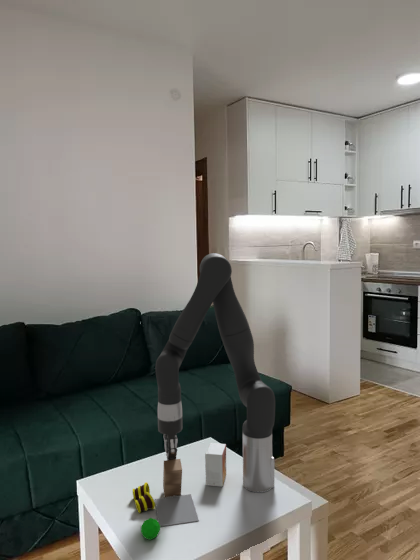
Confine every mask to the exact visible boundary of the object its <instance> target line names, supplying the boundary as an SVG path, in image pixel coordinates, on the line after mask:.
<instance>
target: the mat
mask: <svg viewBox="0 0 420 560" xmlns="http://www.w3.org/2000/svg"><path fill="white" fill-rule="evenodd" d="M193 500H194V499H193V496H192V494H190V493H189V494H183V495H182V494H181V495H179V496H171V497H161V498H160V497H159V498H154V502H155V511H156V516H157V521H158V523H159V524H160V528H161V527H169V526H177V525H184V524H189V523H195V522H199V521H200V520H199V516H198V514H197V510H196V507H195V506H196V505H195V503H194V501H193Z"/></svg>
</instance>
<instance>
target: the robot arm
mask: <svg viewBox="0 0 420 560" xmlns="http://www.w3.org/2000/svg"><path fill="white" fill-rule="evenodd" d="M196 283H197V284H196V286H195V288H194V291H193V293H192V295H191V297H190V298H189V300H188V302H187V303H186V305H185V306H184V308H183V310H182V311H181V312H180V314H179V316H178V317H177V320H176V321H175V324H174V326H173V327H172V329H171V331H170V334H169V336H168V337H169V338H168V340H167V342H166V344H165V346H164V347H163V349H162V351H161V353H160V355H159V356H158V357H157V359H156V361H155V368H154V369H155V377H156V383H157V431H158V433H160V434H162V435H163V441H164V442H163V443H164V452H165V453H166V454H165V456H166V460H174V459H177V454H178V441H179V440H178V435H177V434H179V433H180V432H182V430H183V405H182V387H181V383H180V382H179V379H180V378H179V377H180V376H179V375H180V373H179V372H180V371H179V370H180V367H181V365H182V362H183V361H184V358H185V356H186V354H187V351H188V350H189V347H190V346H191V345H192V343H193V342H194V339H195V337H196V335H197V334H198V331H199V329H200V327H201V325H202V324H203V321H204V320H205V318H206V315H207V313H208V311H209V309H210V307H211V305H213V308H214V309H213V310H214V316H215V321H216V322H217V328H218V331H219V335H220V339H221V341H222V345H223V346H224V349H225V352H226V354H227V355H226V356H227V358H228V360H229V362H230V366H231V367H232V369H233V370H232V371H233V373H234V378H235V383H236V386H237V391H238V396H239V399H240V402H241V403H242V404H243V406H245V407H246V420H244V422H243V423H242V485H243V488H245V489H246V490H247V491H250V492H252V493H265V492H268V491H270V490H271V489H274V488H275V457H274V456H273V429H274V426H275V420H276V396H275V392H274V391H273V389H272V388H271V387H270V386H268V385H267V384H266V383H265V382H264V381H263V380H262V378H261V376H260V374H259V372H258V369H257V366H256V363H255V341H254V336H253V335H252V334H253V333H252V330H251V327H250V325H249V322H248V319H247V316H246V313H245V312H244V310H243V307H242V305H241V304H240V302H239V300H238V298H237V295H236V293H235V289H234V285H233V280H232V265H231V263H230V261H229V260H228V259H227V258H226V257H225V256H224V255H222V254H220V253H213V252H212V253H209V254H206V255H205V256H204V257H203V258H202V260H201V262H200V264H199V277H198V279H197V282H196Z"/></svg>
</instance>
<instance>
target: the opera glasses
mask: <svg viewBox="0 0 420 560" xmlns="http://www.w3.org/2000/svg"><path fill="white" fill-rule="evenodd" d="M150 490H151V489H150V485H149V483H148V482H144V484H142V485H139V486H138V487H136V488H132V497H133V500H134V504H135V508H136V510H138V511H137V512H138V514H140V513H142V512H146V511H148V510H150V509H151V510H155V509H156V504H155V499H154V497H153V495H152V494H151V491H150Z"/></svg>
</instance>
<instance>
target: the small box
mask: <svg viewBox="0 0 420 560" xmlns="http://www.w3.org/2000/svg"><path fill="white" fill-rule="evenodd" d="M204 455H205V456H204V460H205V461H204V463H205V464H204V465H205V467H204V468H205V485H206V486H209V487H210V486H212V487H223V486H224V482H225V480H226V477H227V444H226V443H218V442H209V445H208V448H207V449H206V452H205V454H204Z"/></svg>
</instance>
